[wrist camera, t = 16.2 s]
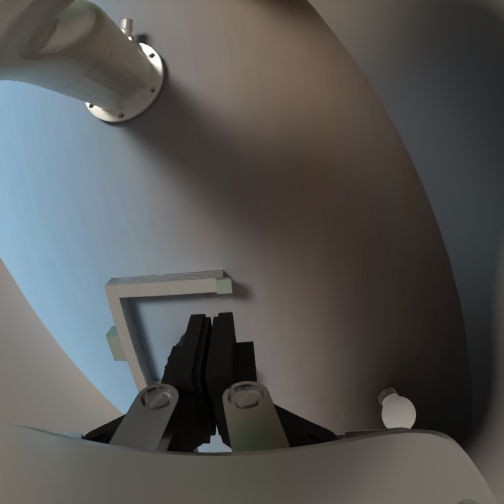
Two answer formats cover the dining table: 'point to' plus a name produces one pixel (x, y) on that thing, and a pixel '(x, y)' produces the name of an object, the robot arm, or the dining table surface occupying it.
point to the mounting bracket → (119, 289)
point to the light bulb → (396, 409)
